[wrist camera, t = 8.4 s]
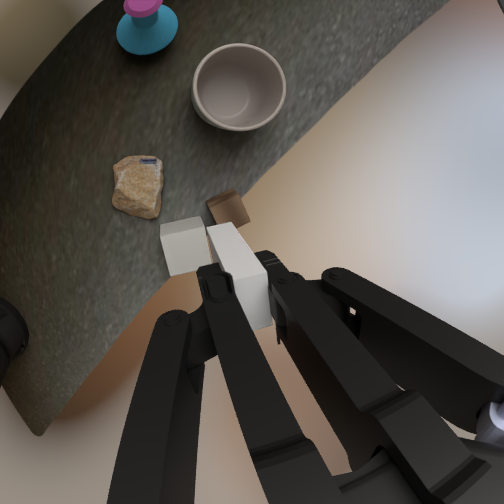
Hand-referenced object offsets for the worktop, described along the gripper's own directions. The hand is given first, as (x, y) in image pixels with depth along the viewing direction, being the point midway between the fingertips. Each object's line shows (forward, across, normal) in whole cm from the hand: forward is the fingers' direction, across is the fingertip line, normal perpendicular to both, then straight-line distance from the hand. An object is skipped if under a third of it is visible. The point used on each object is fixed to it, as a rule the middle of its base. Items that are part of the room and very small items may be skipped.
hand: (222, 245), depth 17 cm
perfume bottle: (+32, -3, +25) cm, 41 cm away
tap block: (+32, -3, -11) cm, 34 cm away
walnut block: (+32, +5, -7) cm, 34 cm away
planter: (+32, +8, +12) cm, 35 cm away
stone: (+33, -8, -1) cm, 34 cm away
